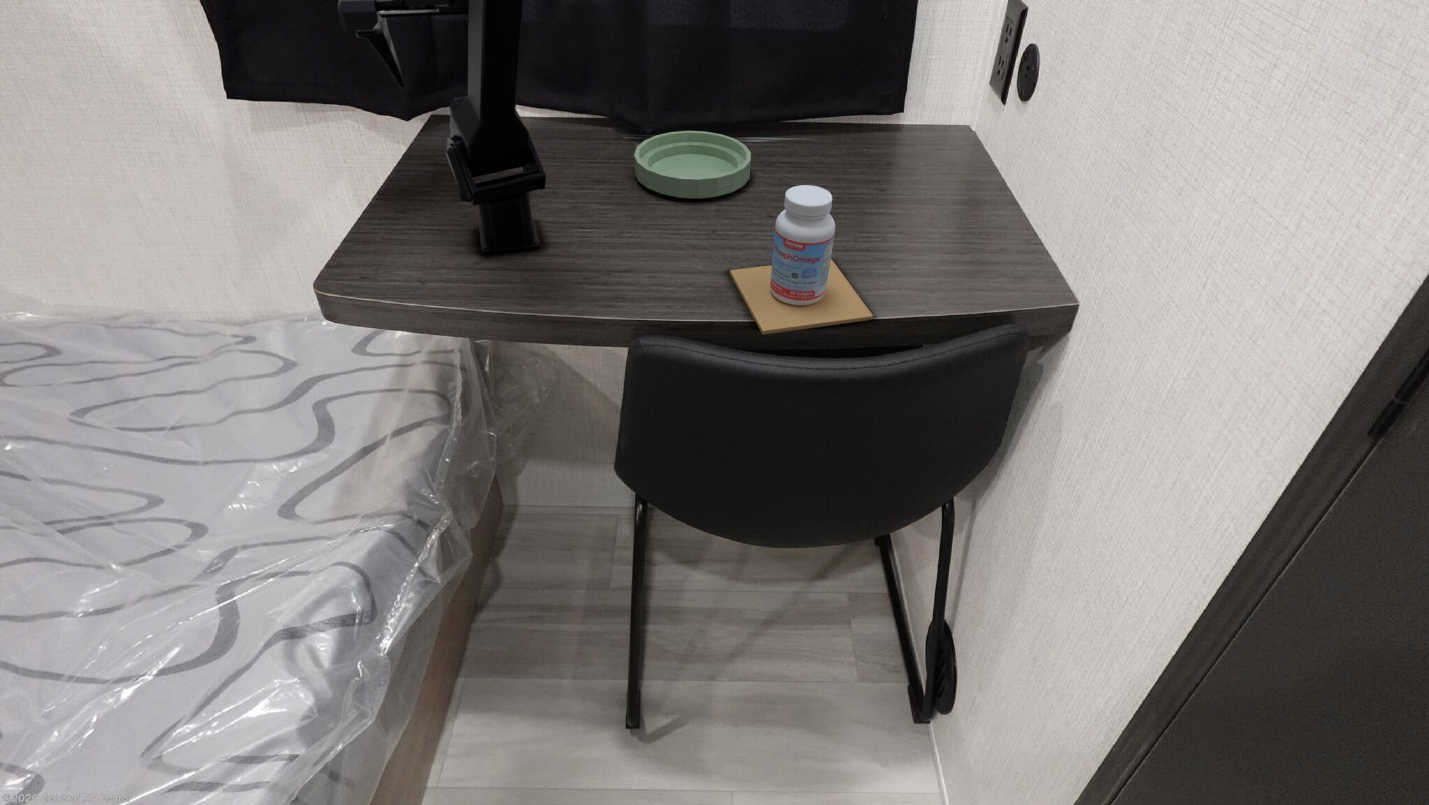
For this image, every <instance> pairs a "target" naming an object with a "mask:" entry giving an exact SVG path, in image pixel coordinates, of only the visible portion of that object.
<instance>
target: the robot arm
mask: <svg viewBox="0 0 1429 805" xmlns="http://www.w3.org/2000/svg"><path fill="white" fill-rule="evenodd" d="M523 11H524V0H338V3H337V12H338V18H339V23H340V26H341V30H342V31H346V32H351V31H355V34H356V38H358V39H366V40H367V41H368V43H370V45H371V46H372V47H373V49H374V50H375V51H376V52H377V54H378V55H379V56H380V57H381V59H382V60H383V62H384V63H385V65H386V67H387V68H388V70H389V72H390V73H391V75H392V76H393V78H394V79H395V81H396V83H397V84H398V86H399V87H400V89H405V80H404V75H403V71H402V68H401V65H400V62H399V58H398V56H397V53H396V50H395V47H394V42H393V40H392V38H391V34H390V30H389V25H388V23H387V19H389V18H390V19H391V18H410V17H413V18H414V17H433V16H435V17H436V16H437V17H438V16H455V15H456V16H458V15H468V30H467V31H468V32H467V33H468V38H467V39H468V40H467V41H468V43H467V48H468V49H467V50H468V51H467V52H468V53H467V95H464V96H460V97H454V98H453V97H452V99H451V101H450V103H449V124H448V127H449V129H450V130H449V131H450V132H449V133H450V134H449V136H448V137H447V139H446V152H445V155H446V158H447V161H448V164H449V167H450V169H451V172H452V175H453V178H454V180H455V184H456V188H457V192H458V198H459V200H460V201H462V202H467V203H469V202H470V204H471V205H472V206H473V207H475V206H476V207H477V206H478V212H479V218H480V222H481V223H480V224H479V225H478V231H479V239H480V247H481V248H480V249H481V253H482V254H483V255H493V254H500V253H501V254H503V253H511V252H520V251H531V250H538V249H540V248H541V243H540V238H539V235H538V234H539V233H538V230H537V226H536V221H535V220H534V219H533V215H532V207H531V199H530V192H534V191H535V192H536V191H539V190H540V191H542V190H545V189H546V180H547V179H546V178H547V177H546V176H547V175H546V172H545V170H544V167H543V165H542V163H541V160H540V157H539V155H538V153H537V150H536V148H535V145H534V143H533V140H532V138H531V135H530V131H529V130H528V128H527V126H526V124H525V123H524V121H523V119H522V117H521V115H520V114H519V112H518V110H517V109H516V108H517V107H516V106H517V96H518V95H517V93H518V83H519V82H518V81H519V67H520V55H521V53H520V52H521V42H522V40H521V39H522V25H523V13H524V12H523ZM518 168H522V169H520V170H518V171H511V172H508V173H503V174H500V175H494V176H491V177H486V178H481V179H478V180H474V178H475V179H476V178H479V177H483V176H487V175H488V176H489V175H492V174H497V173H500V172H506V171H509V170H513V169H514V170H515V169H518Z"/></svg>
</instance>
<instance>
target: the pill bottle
mask: <svg viewBox="0 0 1429 805" xmlns="http://www.w3.org/2000/svg"><path fill="white" fill-rule="evenodd" d="M784 194H785V195H784V202H783V205H784V209H783V210H782V211H781V212H779V214H778V215H777V217H776V220H775V227H774V237H773V249H772V260H771V265H772V269H771V279H770V289H771V292H772V294H773V295H774V296H775V297H776V298H777V299H779V300H780V301H782V302H785V303H788V304H792V305H810V304H814V303H816V302H818V301H819V300H821V299H822V298H823V296H824V295H825V292H826V287H827V281H828V274H829V267H830V261H831V259H832V253H833V247H834V242H835V233H836V223H835V219H834V218H833V216H832V215H831V210H832V204H833V195H832V194H831V192H830V191H829V190H827V189H825V188H823V187H821V186H817V185H810V184H801V185H795V186H791V187H790V188H788V189H787V190H786V192H785V193H784Z"/></svg>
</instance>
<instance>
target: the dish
mask: <svg viewBox="0 0 1429 805" xmlns="http://www.w3.org/2000/svg"><path fill="white" fill-rule="evenodd" d="M633 158H634V160H633V162H634V163H633V164H634V175H635V177H636V179H637V181H638V183H640V184H641V185H642V186H644V187H645V188H646V189H648V190H651V191H653V192H656V193H658V194H661V195H666V196H669V197H673V198H678V199H690V200H697V199H699V200H700V199H710V198H716V197H721V196H724V195H728V194H731V193H733V192H736V191H737V190H739V189H741V188H743V187H744V186H745V185H746V184H747V183H748V181H749V180H750V179H751V163H752V162H751V161H752V160H751V159H752V152H751V151H750V149H749V148H748V146H747V145H746V144H745V143H742V142H741V141H739V140H738V139H736V138H735V137H734V138H733V137H730V136H728V135H724V134H722V133H721V134H720V133H716V132H710V131H703V130H702V131H701V130H679V131H671V132H665V133H661V134H656V135H654V136H651V137H649V138H647V139H645V140H643V141H642V142H640V143H639V144H638V145H637V147H636V148H635V151H634V154H633Z"/></svg>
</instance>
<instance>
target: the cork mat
mask: <svg viewBox="0 0 1429 805" xmlns="http://www.w3.org/2000/svg"><path fill="white" fill-rule="evenodd" d="M771 269H772V264H771V265H762V266H754V267H747V268H737V269H729V275H730V278H731V279H732V281H733V283H734V284H735V286H736V288H737V290H738V292H739V294H740V296H741V298H742V300H743V302H744V303H745V305H746V307H747V308H748V310H749V312H750V314H751V316H752V318H753V320H754V321H755V323H756V326H757V327H758V329H759V331H760V333H761V334H762V335H771V334H778V333H785V332H793V331H799V330H808V329H815V328H820V327H821V328H822V327H828V326H835V325H836V326H837V325H842V324H850V323H851V324H852V323H857V322H866V321H873V319H874V315H873V313H872V312H871V311H870V310H869V308H868V306H867V305H866V304H865V303H864V301H863V300H862V299H861V297H860V296H859V294H858V293H857V292H856V290H855V289H854V288H853V286H852V285H851V283H850V282H849V281H848V280H847V278H846V277H845V275H844V274H843V272H841V270H840V269H839V267H838V266H837V264H836V263H835V262H834V260H833V259H832V258H831V261H830V267H829V274H828V281H827V287H826V292H825V295H824V296H823V298H822V299H821V300H819V301H818V302H816V303H814V304H810V305H792V304H788V303H785V302H782V301H780V300H779V299H777V298H776V297H775V296H774V295H773V294H772V292H771V289H770V279H771Z"/></svg>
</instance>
